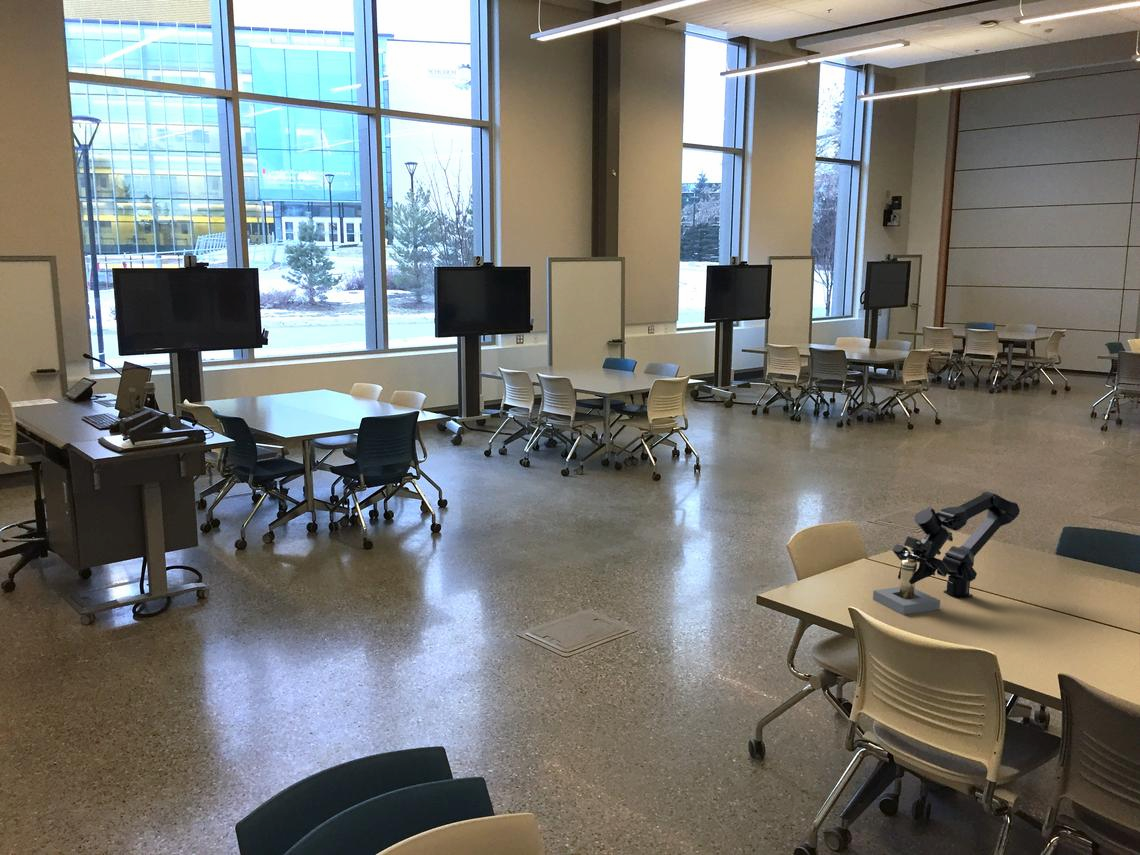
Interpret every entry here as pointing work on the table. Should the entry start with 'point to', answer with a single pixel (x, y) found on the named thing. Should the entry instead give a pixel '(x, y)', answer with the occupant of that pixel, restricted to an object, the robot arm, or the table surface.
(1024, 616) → the table surface
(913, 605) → the grey square frame
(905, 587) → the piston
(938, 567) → the robot arm
